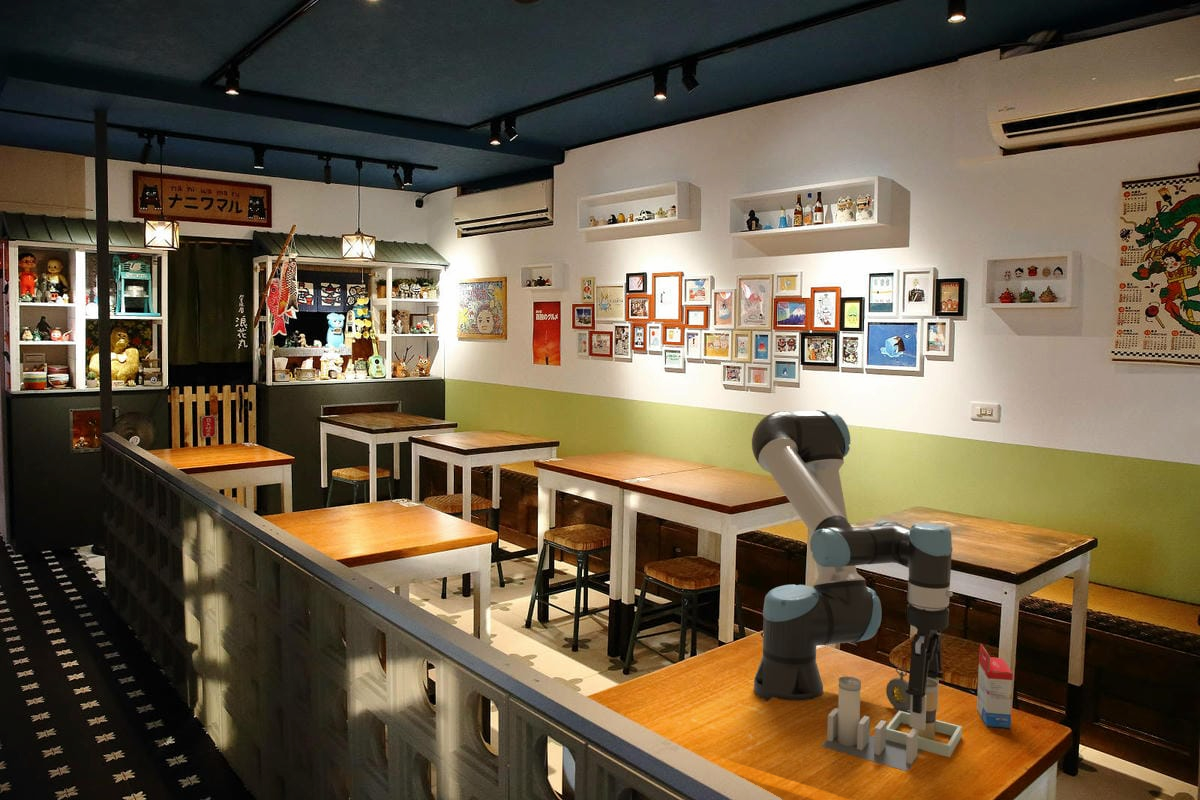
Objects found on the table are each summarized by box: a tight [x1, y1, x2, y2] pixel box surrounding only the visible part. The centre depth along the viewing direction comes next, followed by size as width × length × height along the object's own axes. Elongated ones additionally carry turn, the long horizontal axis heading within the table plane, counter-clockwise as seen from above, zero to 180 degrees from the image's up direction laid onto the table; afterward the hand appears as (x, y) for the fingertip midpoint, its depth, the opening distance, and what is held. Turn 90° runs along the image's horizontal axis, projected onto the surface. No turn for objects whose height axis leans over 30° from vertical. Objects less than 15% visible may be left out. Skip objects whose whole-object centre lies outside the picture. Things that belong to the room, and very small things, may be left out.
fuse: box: [837, 676, 862, 746], centre depth 162 cm, size 4×4×12 cm
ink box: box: [976, 643, 1014, 729], centre depth 176 cm, size 8×5×15 cm, turn 168°
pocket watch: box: [885, 667, 911, 713], centre depth 179 cm, size 8×8×10 cm
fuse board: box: [821, 707, 923, 772], centre depth 160 cm, size 16×10×6 cm, turn 55°
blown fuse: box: [912, 679, 939, 741], centre depth 164 cm, size 4×4×12 cm
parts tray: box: [886, 710, 963, 758], centre depth 164 cm, size 12×10×4 cm
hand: (923, 718), depth 164 cm, fingers open, 9 cm apart
